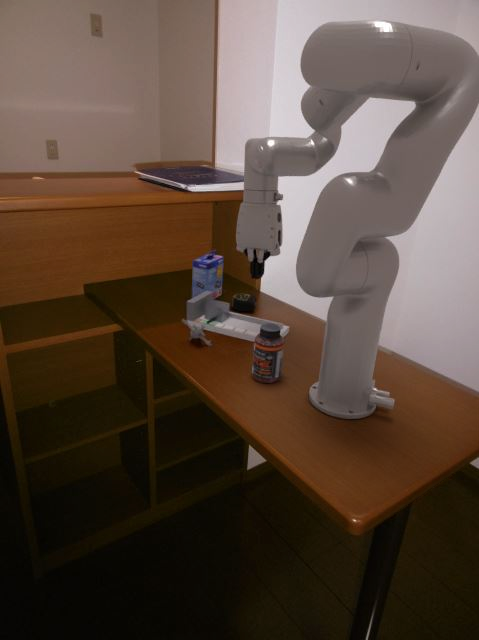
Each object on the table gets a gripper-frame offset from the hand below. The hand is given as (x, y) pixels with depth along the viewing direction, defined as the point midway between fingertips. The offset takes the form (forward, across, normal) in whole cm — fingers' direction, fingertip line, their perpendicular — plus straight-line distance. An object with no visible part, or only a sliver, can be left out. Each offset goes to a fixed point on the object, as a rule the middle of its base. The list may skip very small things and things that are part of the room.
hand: (256, 277), depth 108 cm
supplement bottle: (+15, -11, +18) cm, 26 cm away
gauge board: (+14, +5, -1) cm, 15 cm away
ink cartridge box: (+14, +23, -17) cm, 32 cm away
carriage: (+13, +11, +1) cm, 17 cm away
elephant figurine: (+15, +10, +11) cm, 21 cm away
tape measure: (+14, +9, -15) cm, 23 cm away
